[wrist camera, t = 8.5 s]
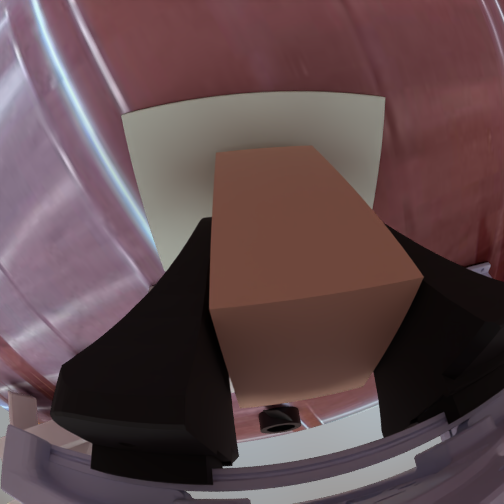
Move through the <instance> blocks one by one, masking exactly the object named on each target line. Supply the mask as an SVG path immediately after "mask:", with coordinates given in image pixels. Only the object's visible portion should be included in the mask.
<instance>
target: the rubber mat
mask: <svg viewBox="0 0 504 504" xmlns="http://www.w3.org/2000/svg"><path fill="white" fill-rule="evenodd" d="M384 111H385V97H381V96H374V95H365V94H354V93H341V92H322V91H274V92H254V93H241V94H230V95H221V96H212V97H205V98H198V99H191V100H185V101H180V102H174V103H169V104H164V105H159V106H154V107H150V108H145V109H141V110H137V111H133V112H129V113H125V114H123V115H121V116H122V121H123V126H124V131H125V136H126V140H127V145H128V149H129V153H130V157H131V162H132V166H133V170H134V174H135V177H136V181H137V185H138V189H139V192H140V196H141V199H142V203H143V206H144V210H145V213H146V216H147V220H148V223H149V226H150V229H151V232H152V236H153V239H154V242H155V245H156V248H157V251H158V254H159V257H160V260H161V262H162V265H163V268H164V271H167V270H168V268H169V267H170V266H171V264H172V263H173V261H174V260H175V259H176V257H177V256H178V255H179V253H180V252H181V250H182V249H183V247H184V246H185V244H186V243H187V241H188V239H189V238H190V236H191V235H192V233H193V231H194V230H195V228H196V226H197V225H198V223H199V221H200V220H201V219H202V218H206V217H212V207H213V189H214V173H215V159H216V153H218V152H227V151H236V150H246V149H257V148H270V147H287V146H310V145H312V146H313V147H314V148H315V149H316V150H317V151H318V152H319V153H320V154H321V155H322V156H323V157H324V158H325V159H326V160H327V161H328V162H329V163H330V164H331V165H332V166H333V167H334V168H335V169H336V170H337V171H338V172H339V173H340V174H341V175H342V176H343V177H344V179H345V180H346V181H347V182H348V183H349V184H350V185H351V186H352V187H353V188H354V189H355V191H356V192H357V193H358V194H359V195H360V196H361V197H362V198H363V200H364V201H365V202H366V203H367V204H368V205H369V206H370V208H371V209H372V208H373V202H374V197H375V190H376V184H377V177H378V170H379V163H380V155H381V146H382V136H383V125H384Z"/></svg>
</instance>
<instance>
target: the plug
mask: <svg viewBox="0 0 504 504" xmlns="http://www.w3.org/2000/svg"><path fill="white" fill-rule="evenodd" d="M423 278H424V276H423V275H422V274H421V272H420V271H419V269H418V268H417V266H416V265H415V264H414V262H413V261H412V260H411V258H410V257H409V255H408V254H407V253H406V251H405V250H404V249H403V247H402V246H401V245H400V243H399V242H398V241H397V240H396V238H395V237H394V236H393V234H392V233H391V232H390V231H389V229H388V228H387V227H386V226H385V224H384V223H383V222H382V221H381V220H380V218H379V217H378V216H377V215H376V214H375V212H374V211H373V210H372V209H371V208H370V206H369V205H368V204H367V203H366V202H365V201H364V200H363V198H362V197H361V196H360V195H359V194H358V193H357V192H356V191H355V189H354V188H353V187H352V186H351V185H350V184H349V183H348V182H347V181H346V180H345V179H344V177H343V176H342V175H341V174H340V173H339V172H338V171H337V170H336V169H335V168H334V167H333V166H332V165H331V164H330V163H329V162H328V161H327V160H326V159H325V158H324V157H323V156H322V155H321V154H320V153H319V152H318V151H317V150H316V149H315V148H314V147H313V146H312V145H310V146H287V147H270V148H257V149H246V150H236V151H227V152H218V153H216V159H215V173H214V189H213V207H212V227H211V252H210V289H209V310H210V314H211V317H212V321H213V324H214V328H215V331H216V335H217V338H218V341H219V345H220V348H221V351H222V354H223V358H224V361H225V364H226V367H227V370H228V373H229V376H230V379H231V382H232V385H233V388H234V391H235V394H236V397H237V400H238V403H239V406H240V408H249V407H259V406H267V405H275V404H282V403H288V402H294V401H300V400H306V399H311V398H316V397H321V396H326V395H330V394H335V393H339V392H343V391H347V390H351V389H355V388H359V387H363V386H364V384H365V383H366V381H367V380H368V378H369V377H370V375H371V374H372V372H373V371H374V369H375V368H376V366H377V365H378V363H379V361H380V360H381V358H382V356H383V355H384V353H385V351H386V350H387V348H388V346H389V345H390V343H391V341H392V339H393V338H394V336H395V334H396V332H397V331H398V329H399V327H400V325H401V323H402V321H403V319H404V317H405V315H406V314H407V312H408V310H409V308H410V306H411V304H412V302H413V299H414V297H415V295H416V293H417V291H418V289H419V287H420V284H421V282H422V280H423Z"/></svg>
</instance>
